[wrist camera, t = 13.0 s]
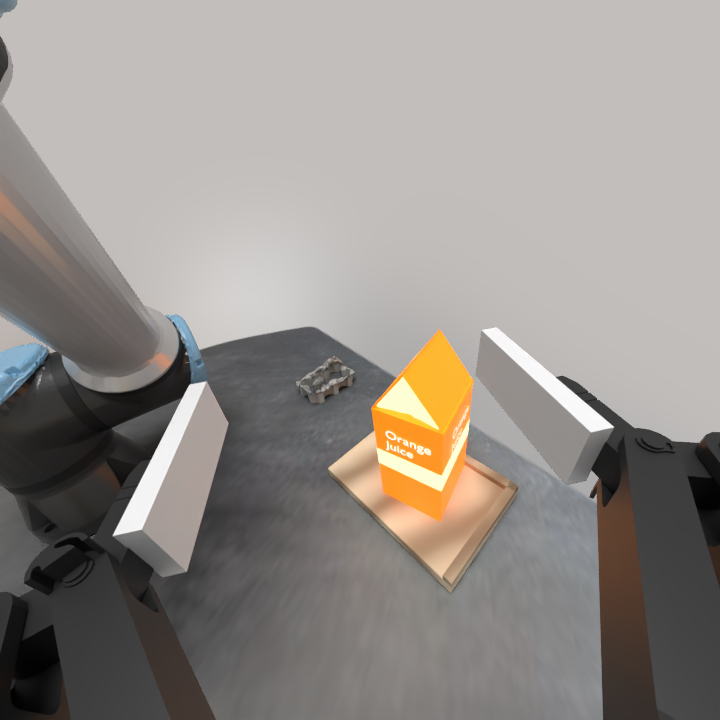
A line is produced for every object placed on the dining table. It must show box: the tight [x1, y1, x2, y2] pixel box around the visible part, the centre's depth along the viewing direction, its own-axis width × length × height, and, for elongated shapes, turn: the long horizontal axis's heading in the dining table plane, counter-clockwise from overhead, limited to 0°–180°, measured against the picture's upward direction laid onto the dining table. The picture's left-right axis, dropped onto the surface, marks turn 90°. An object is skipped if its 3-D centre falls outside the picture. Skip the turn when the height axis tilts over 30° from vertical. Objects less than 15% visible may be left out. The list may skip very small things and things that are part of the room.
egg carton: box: [295, 356, 355, 404], centre depth 59 cm, size 11×8×4 cm
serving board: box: [328, 431, 519, 593], centre depth 39 cm, size 20×14×2 cm
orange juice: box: [372, 330, 474, 522], centre depth 33 cm, size 8×9×20 cm
